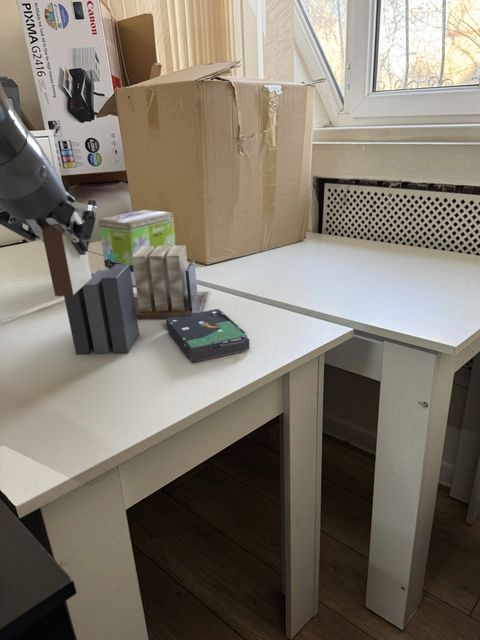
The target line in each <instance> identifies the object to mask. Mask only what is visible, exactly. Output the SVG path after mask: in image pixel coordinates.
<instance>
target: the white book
mask: <svg viewBox="0 0 480 640" xmlns="http://www.w3.org/2000/svg"><path fill="white" fill-rule="evenodd" d="M74 216H75V219H76V220H77V221H78V222H79V223H80V224H82V223H83V222H82V221H81V218H80V217H79V214H78V213H76V212H74ZM42 227H43V232H42V235H43V240H44V242H43V244H44V249H45V254H46V259H47V265H48V267H49V269H48V270H49V273H50V278H51V284H52V288H53V292H54V293H53V294H54V297H64V296H73V295H74V294H75V293H76V292H77V291H78V290H79V289H81V288H82V287H83V286H84V285H85V284H86V283H87V282H88V281H89V280H90V279H91V278H92V277H91V273H92V272H91V266H90V261H89V260H90V259H89V254H88V252H86V255H80V254H79V253H78V251H77V250H76V248H75V247H74V246H73V244H72V243H71V241H70V240H69V239H68V237H67V236H66V235H62V233H61V232H58V231H57V230H56V229H55V228H54V227H53V226H42Z"/></svg>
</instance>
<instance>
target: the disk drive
mask: <svg viewBox="0 0 480 640" xmlns="http://www.w3.org/2000/svg"><path fill="white" fill-rule="evenodd" d="M165 324H166V330H167V331H168V333H169V335H170V336H171V337H172V338H173V340H174V341H175V343H176V344H177V345H178V346H179V348H180V349H181V350H182V351H183V353H184V354H185V356H186V357H187V358H188V359H189V361H191V362H198V361H203V360H208V359H213V358H217V357H222V356H227V355H231V354H236V353H240V352H245V351H247V350H249V349H251V348H250V338H248V335H247V333H246V332H245V331H244V330H243V329H242V328H241V327H240V326H238V325H237V323H235V322H234V321H233V320H232V319H231V318H229V317H228V316H227V314H225V313H224V312H223V311H222V310H220V309H219V308H216V309H209V310H205V311H201V312H198V313H192V314H189V315H187V316H186V317H184V318H180V317H178V316H176V317H170V318H166V319H165Z"/></svg>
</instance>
